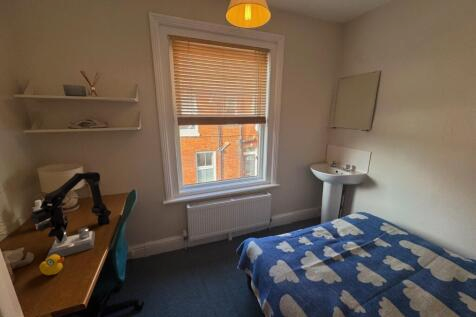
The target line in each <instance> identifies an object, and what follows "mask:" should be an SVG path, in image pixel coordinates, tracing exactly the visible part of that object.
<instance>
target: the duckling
mask: <svg viewBox="0 0 476 317" xmlns="http://www.w3.org/2000/svg"><path fill="white" fill-rule="evenodd" d="M64 260H65V256H63V257H60V256H59V255H57V254H54V255H51V256H50V257H48V258H47V257H46V258H45V261H42V262H41V263H40V264H39V270H40V272H41V274H43V275H45V276H52V275H57V274H58V273H59V272H61V270H62V269H63V267H64V266H63V262H64Z"/></svg>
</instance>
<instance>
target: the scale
mask: <svg viewBox="0 0 476 317" xmlns="http://www.w3.org/2000/svg"><path fill="white" fill-rule="evenodd" d="M89 235H90V236H89V237H88V238H86V239H82V240H81V239H79V233H78V234H74V235H70V236H67V238H68V239H67V240H66V241H65V242H62V243H56V239H55V240H54V241H53V242H52V245H51V246H50V249H49V251H48V254H47V255H46V258H48V257H50V256H51V255H54V254H57V255H59V256H60V258H62V257H66V256H70V255H74V254H76V253H77V254H78V253H80V252H84V251H87V250H91V249H93V248H94V244H95V243H94V242H95V236H96V233H95V230H94V231H93V230H89Z"/></svg>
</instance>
